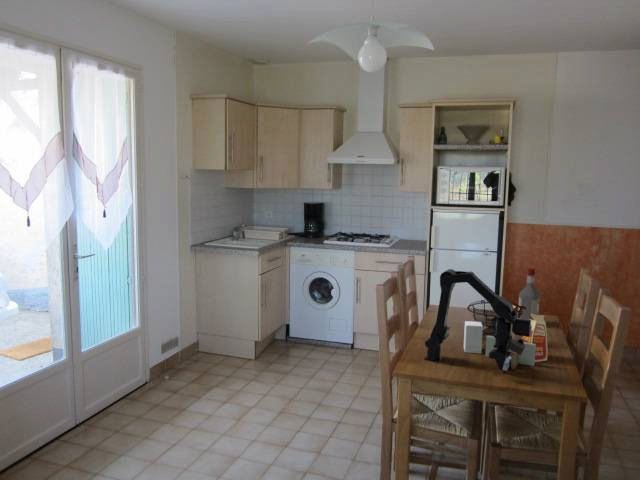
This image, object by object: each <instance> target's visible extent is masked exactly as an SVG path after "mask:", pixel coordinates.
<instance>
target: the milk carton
mask: <svg viewBox="0 0 640 480" xmlns="http://www.w3.org/2000/svg"><path fill="white" fill-rule="evenodd" d="M544 318H545V315H540V314H539V315H534V314H531V317H530V318H528V319H530V320H531V326H532V329H531V336H530V337H526V336H521V339H523V340H524V342H527V343H533V344H536V350H535V363H539V362H545V361H546V362H547V361H548V334H547V332H548V331H547V323H546V320H545V319H544Z"/></svg>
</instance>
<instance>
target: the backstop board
mask: <svg viewBox="0 0 640 480" xmlns="http://www.w3.org/2000/svg"><path fill="white" fill-rule="evenodd" d="M485 337H486V339H485V357H487V358H489V352H490V351H491V350H492V349H497V348H494V344H495V338H494V335H486V336H485ZM524 344H525V348H524V350H523V352H522V354H521V355H519V359H518V364H521V365H526V366H532V367H534V366H535V365H536V364H535V363H536V362H535V350H536V344H533V343H527V342H524ZM509 351H512V350H510V349H509Z"/></svg>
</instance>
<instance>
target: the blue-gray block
mask: <svg viewBox="0 0 640 480" xmlns="http://www.w3.org/2000/svg"><path fill="white" fill-rule="evenodd" d="M511 360H512V357H509V356H508V358H506V360H505V363H504V366H503V369H502V370H501V371H508V370H509V368H511Z"/></svg>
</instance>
